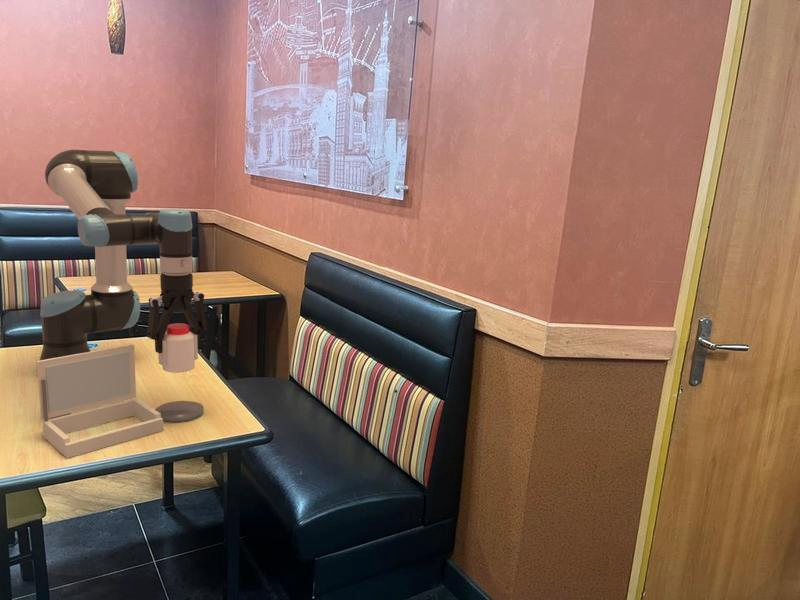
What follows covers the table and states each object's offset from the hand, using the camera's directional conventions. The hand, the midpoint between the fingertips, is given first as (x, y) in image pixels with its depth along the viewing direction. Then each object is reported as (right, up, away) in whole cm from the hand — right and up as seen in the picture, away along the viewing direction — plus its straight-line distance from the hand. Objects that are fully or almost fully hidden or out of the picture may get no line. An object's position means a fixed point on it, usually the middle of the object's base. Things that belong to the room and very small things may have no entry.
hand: (178, 361), depth 160 cm
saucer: (-1, -14, +3) cm, 14 cm away
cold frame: (-14, -16, -11) cm, 24 cm away
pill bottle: (0, -2, 0) cm, 2 cm away
